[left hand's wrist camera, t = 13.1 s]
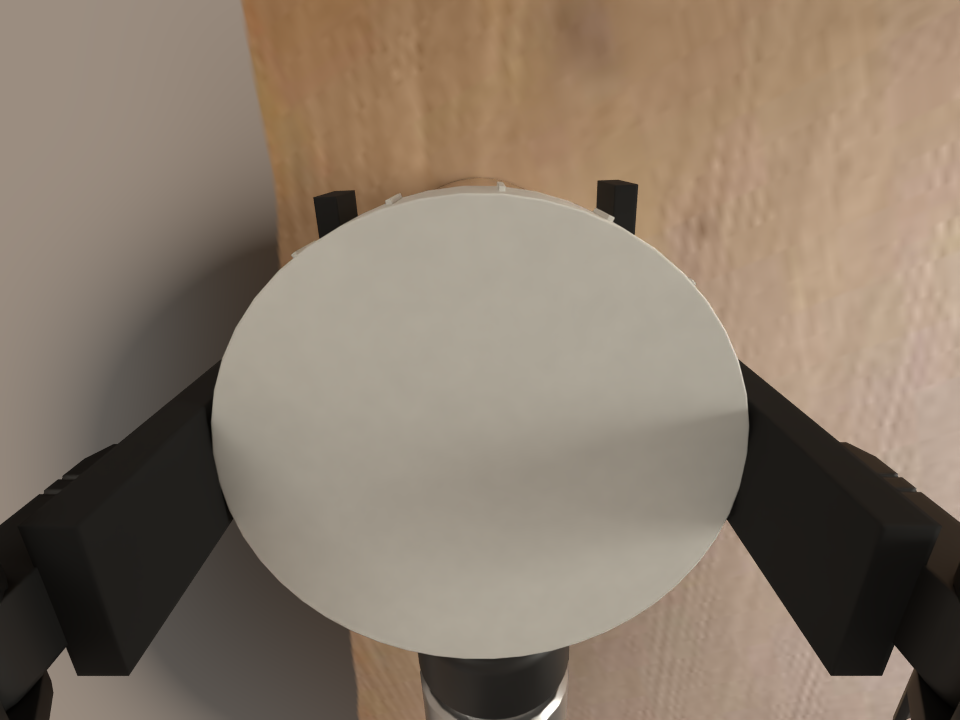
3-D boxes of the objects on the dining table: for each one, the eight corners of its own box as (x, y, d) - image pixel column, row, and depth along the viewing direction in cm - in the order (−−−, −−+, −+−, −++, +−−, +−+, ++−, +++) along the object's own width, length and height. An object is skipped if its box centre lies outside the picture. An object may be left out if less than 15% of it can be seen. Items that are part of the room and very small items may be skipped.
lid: (219, 159, 10) (167, 162, 8) (772, 202, 10) (828, 212, 8) (264, 588, 14) (235, 647, 12) (663, 609, 14) (687, 671, 12)
